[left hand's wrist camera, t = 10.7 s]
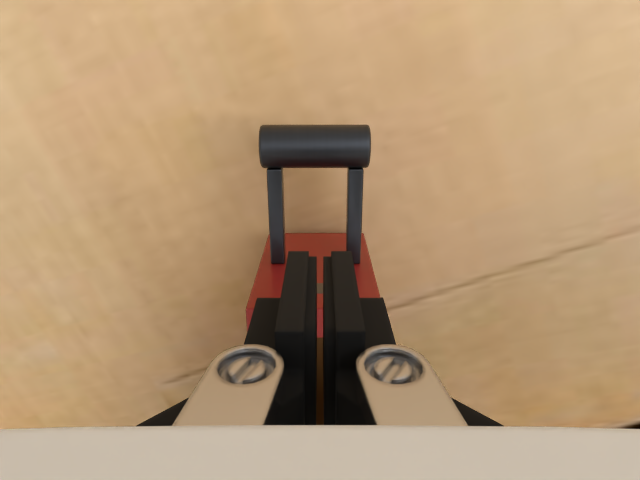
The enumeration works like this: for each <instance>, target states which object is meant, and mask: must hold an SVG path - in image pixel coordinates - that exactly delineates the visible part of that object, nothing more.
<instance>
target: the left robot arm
mask: <svg viewBox="0 0 640 480" xmlns="http://www.w3.org/2000/svg"><path fill="white" fill-rule="evenodd" d="M316 402H317V256H309V251H288V257H287V262H286V268H285V274H284V280H283V286H282V291H281V297H280V298H257V300H256V303H255V306H254V310H253V314H252V317H251V321H250V325H249V328H248V332H247V335H246V339H245V343H244V345H240V346H235V347H232V348H230V349H227V350H225V351H223V352H222V353H220V354H219V355H217V356H216V357H215V358H214V359H213V361H212V362H211V363H210V365H209V366H208V368H207V370H206V371H205V373H204V375H203V376H202V378H201V379H200V381H199V383H198V384H197V386H196V388H195V389H194V391H193V392H192V394H191V396H190V397H189V398H187V399H185V400H184V401H182V402H180V403H178V404H176V405H174V406H172V407H171V408H169V409H167V410H165V411H163V412H161V413H159V414H157V415H156V416H154V417H152V418H150V419H148V420H146V421H144V422H143V423H141V424H139V425H137V426H128V427H56V428H26V429H0V480H640V429H616V428H581V427H517V426H503V425H501V424H499V423H497V422H496V421H494V420H492V419H490V418H488V417H486V416H484V415H483V414H481V413H479V412H477V411H475V410H473V409H471V408H469V407H468V406H466V405H464V404H462V403H460V402H458V401H456V400H455V399H453V398H451V397H450V396H449V394H448V392H447V391H446V389H445V388H444V386H443V384H442V383H441V381H440V379H439V378H438V376H437V375H436V373H435V371H434V370H433V368H432V366H431V365H430V363H429V362H428V361H427V359H426V358H425V357H424V356H423V355H421V354H420V353H418V352H417V351H415V350H413V349H410V348H408V347H405V346H400V345H396V343H395V339H394V335H393V332H392V328H391V325H390V321H389V317H388V314H387V310H386V306H385V303H384V300H383V298H360V297H359V291H358V286H357V280H356V274H355V268H354V262H353V257H352V251H331V256H323V402H324V425H316Z"/></svg>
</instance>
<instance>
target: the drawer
mask: <svg viewBox="0 0 640 480" xmlns="http://www.w3.org/2000/svg"><path fill="white" fill-rule="evenodd" d="M370 153H371V133H370V128H369V126H368V125H262V126H261V127H260V131H259V157H260V163H261V166H262V167H263V168H268V169H267V188H268V210H269V233H270V234H269V236H268V239H267V243H266V246H265V249H264V252H263V255H262V259H261V262H260V265H259V268H258V272H257V275H256V278H255V281H254V285H253V288H252V291H251V294H250V297H249V301H248V304H247V307H246V320H247V332H248V328H249V325H250V321H251V317H252V314H253V310H254V306H255V303H256V300H257V298H280V297H281V291H282V286H283V280H284V274H285V268H286V262H287V257H288V251H309V256H317V402H316V425H324V402H323V256H331V251H352V257H353V262H354V268H355V274H356V280H357V286H358V291H359V297H360V298H380V294H379V290H378V287H377V283H376V279H375V275H374V272H373V268H372V264H371V260H370V256H369V253H368V249H367V245H366V241H365V238H364V234H363V233H361V230H362V199H363V168H366V167H368V166H369V163H370ZM283 168H347V218H346V233H285V220H284V188H283Z"/></svg>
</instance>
